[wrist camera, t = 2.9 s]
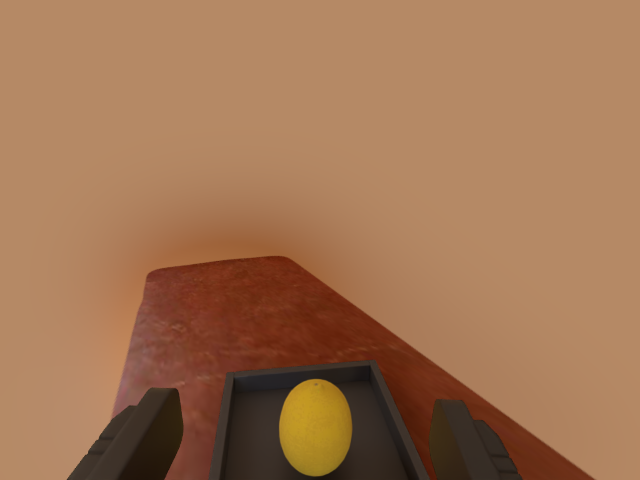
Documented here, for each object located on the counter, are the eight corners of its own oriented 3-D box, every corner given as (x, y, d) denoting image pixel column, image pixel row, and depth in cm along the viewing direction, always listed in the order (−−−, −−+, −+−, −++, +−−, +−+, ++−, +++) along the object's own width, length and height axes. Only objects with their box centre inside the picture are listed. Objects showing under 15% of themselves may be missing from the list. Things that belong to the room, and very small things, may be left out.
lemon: (336, 428, 29) (340, 354, 27) (360, 490, 24) (367, 406, 22) (275, 442, 28) (272, 365, 25) (286, 511, 23) (284, 424, 20)
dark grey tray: (373, 376, 36) (375, 359, 35) (437, 527, 23) (442, 504, 22) (228, 390, 34) (226, 372, 33) (201, 567, 20) (197, 543, 20)
